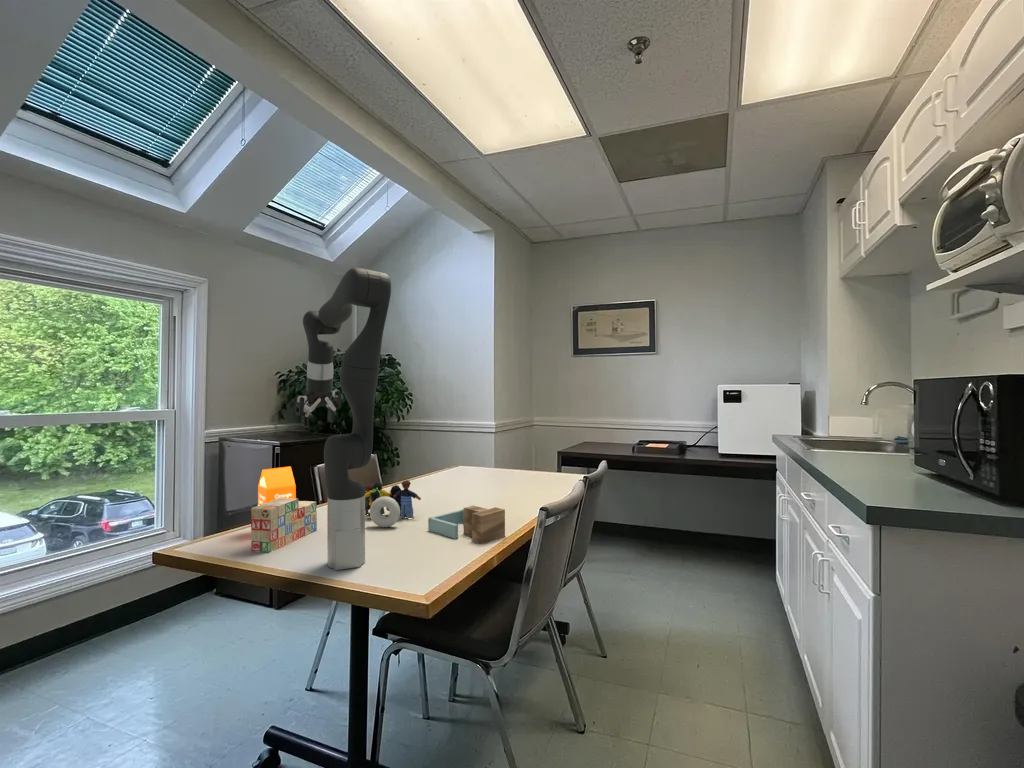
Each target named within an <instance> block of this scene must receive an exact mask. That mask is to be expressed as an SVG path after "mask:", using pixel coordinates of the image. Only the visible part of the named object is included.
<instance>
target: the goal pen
mask: <svg viewBox="0 0 1024 768" xmlns="http://www.w3.org/2000/svg"><path fill="white" fill-rule="evenodd" d="M427 523H428V524H427V525H428V528H427V531H428V530H429V531H428V532H431V531H432V532H431V533H434V532H435V534H437V533H438V534H437V535H441V534H442V535H441V536H444V535H445V537H447V536H448V537H447V538H450V537H451V538H450V539H453V538H454V539H453V540H456V538H457V539H459V524H463V509H458V510H454V511H450V512H447V513H443V514H439V515H433V516H431V517H428V521H427ZM458 523H459V524H458Z"/></svg>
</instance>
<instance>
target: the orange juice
mask: <svg viewBox="0 0 1024 768" xmlns="http://www.w3.org/2000/svg"><path fill="white" fill-rule="evenodd" d="M296 489H297V486H296V482H295V477H294V474H293V470H292V466H291V465H290V466H283V467H273V468H264V469H262V471H261V474H260V477H259V482H258V485H257V506H260V505H262V504H265V503H268V502H270V501H273V500H276V499H279V498H293V499H297V494H296V493H297V491H296Z"/></svg>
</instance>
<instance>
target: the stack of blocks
mask: <svg viewBox="0 0 1024 768" xmlns="http://www.w3.org/2000/svg"><path fill="white" fill-rule="evenodd" d="M250 510H251V511H250V512H251V513H250V514H251V515H250V516H251V519H250V528H251V529H250V530H251V544H250V545H251V552H255V551H262V552H261V553H269V552H271V553H273V552H275V551H277V550H279V548H280V549H282V548H284V547H286V546H288V545H290V544H292V543H294V542H295V540H296V541H297V539H298V540H299V538H300V539H302V538H304V537H306V536H308V535H310V534H311V533H314V532H316V531H317V530H318V528H317V527H318V526H317V525H318V523H317V521H318V513H317V512H318V511H317V501H311V500H310V501H309V500H299V498H296V499H293V498H279V499H276V500H273V501H270V502H268V503H265V504H262V505H260V506H258V505H257V506H253V507H251V509H250ZM303 536H304V537H303ZM301 537H302V538H301ZM293 541H294V542H293ZM285 545H286V546H285ZM283 546H284V547H283ZM281 547H282V548H281ZM272 551H273V552H272Z"/></svg>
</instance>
